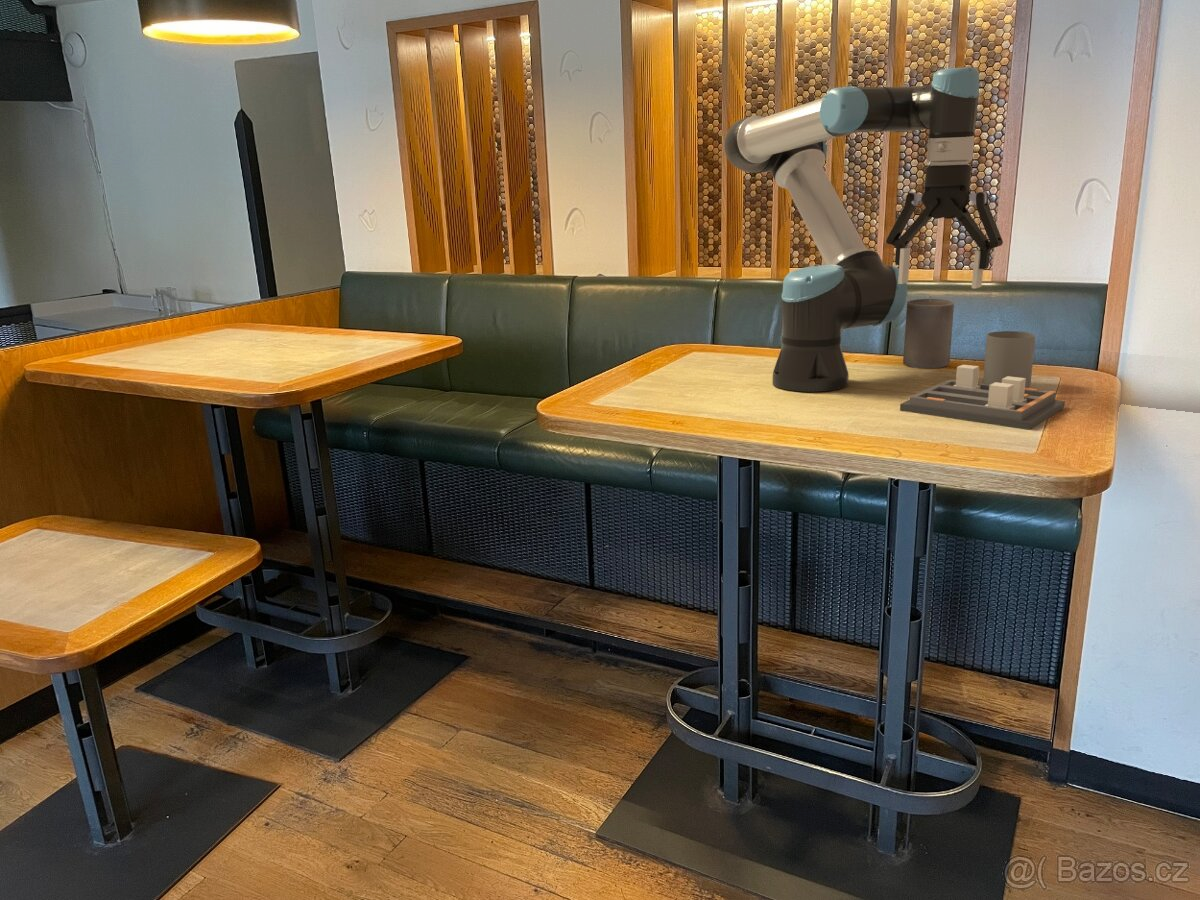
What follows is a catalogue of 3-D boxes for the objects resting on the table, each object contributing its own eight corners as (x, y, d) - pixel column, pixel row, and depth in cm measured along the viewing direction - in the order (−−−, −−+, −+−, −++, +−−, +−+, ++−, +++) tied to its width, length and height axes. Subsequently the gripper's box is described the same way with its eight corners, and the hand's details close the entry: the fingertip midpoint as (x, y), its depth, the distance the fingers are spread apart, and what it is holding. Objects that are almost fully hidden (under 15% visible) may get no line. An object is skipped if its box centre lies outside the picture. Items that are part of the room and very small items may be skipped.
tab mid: (996, 405, 149) (998, 378, 148) (1002, 402, 151) (1004, 375, 150) (1020, 409, 147) (1023, 381, 145) (1026, 405, 149) (1029, 378, 147)
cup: (1034, 390, 163) (1040, 338, 161) (988, 390, 165) (992, 338, 162) (1023, 380, 171) (1028, 330, 168) (979, 380, 173) (983, 331, 170)
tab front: (983, 412, 146) (986, 384, 144) (990, 409, 147) (992, 381, 146) (1008, 416, 143) (1010, 387, 141) (1014, 412, 145) (1017, 384, 143)
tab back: (952, 392, 160) (954, 366, 158) (958, 389, 162) (960, 364, 160) (974, 395, 157) (976, 369, 156) (980, 392, 159) (982, 366, 158)
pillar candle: (899, 360, 195) (902, 293, 191) (944, 359, 194) (949, 292, 189) (907, 369, 186) (911, 299, 182) (955, 368, 185) (960, 298, 180)
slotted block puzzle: (899, 410, 154) (900, 395, 154) (940, 391, 166) (941, 377, 165) (1029, 429, 140) (1031, 412, 139) (1064, 407, 151) (1066, 392, 150)
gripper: (872, 166, 158) (865, 283, 164) (1016, 161, 141) (1002, 292, 148) (890, 165, 163) (883, 279, 169) (1031, 161, 147) (1016, 286, 153)
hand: (938, 285), depth 159 cm, fingers open, 13 cm apart
